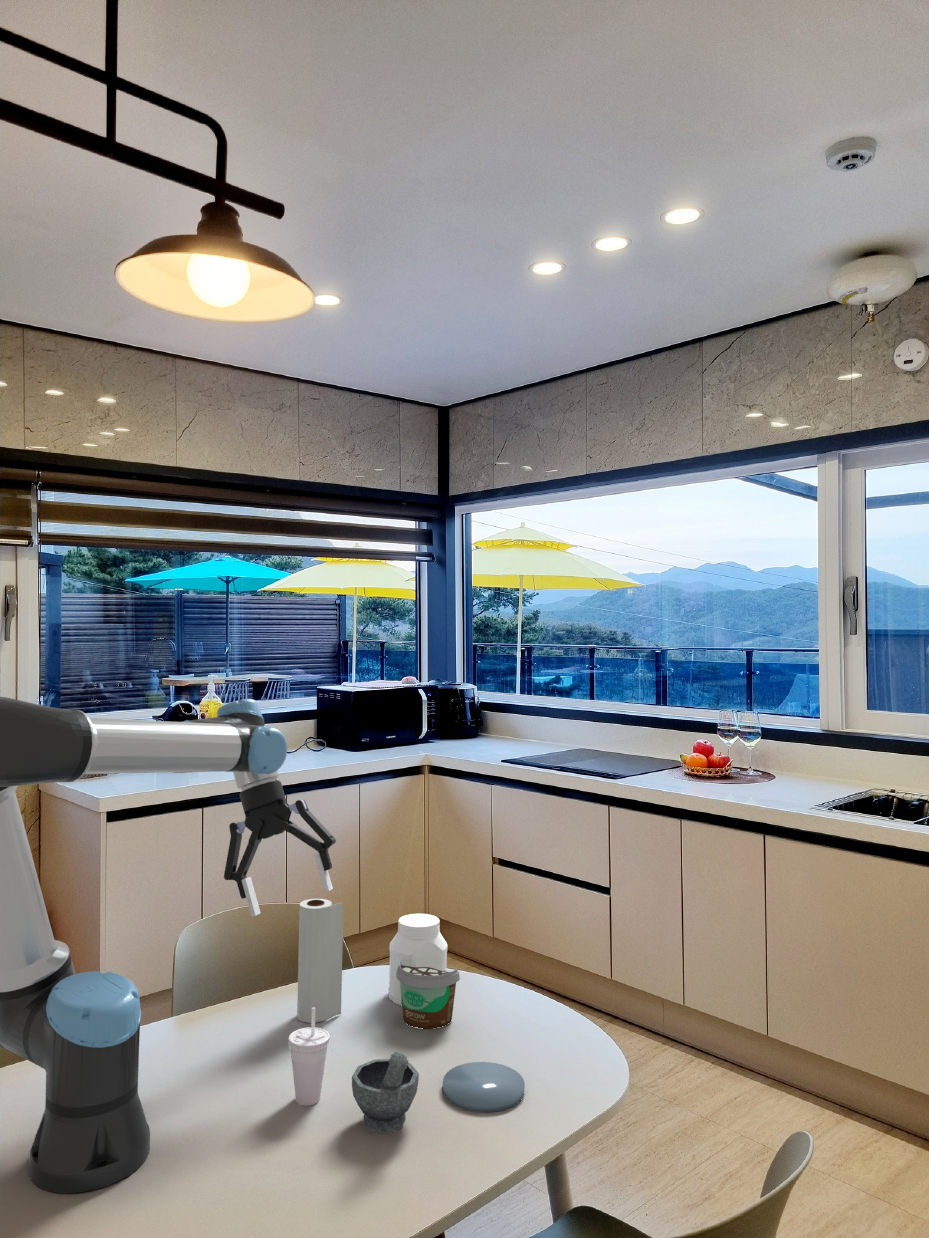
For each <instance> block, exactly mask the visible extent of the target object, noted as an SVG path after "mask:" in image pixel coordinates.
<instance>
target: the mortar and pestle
mask: <svg viewBox="0 0 929 1238" xmlns="http://www.w3.org/2000/svg"><path fill="white" fill-rule="evenodd" d="M419 1078H420V1077H419V1072H418V1070H417V1069H416V1068H415V1067H414V1065H412V1063H410V1062H409V1059H408V1057H407V1055H406V1054H405V1053H403V1052H399V1051H396V1052H393V1054H391V1055H390V1057H389V1058H383V1059H382V1058H379V1059H372V1060H369V1061H367V1062H365V1063H363V1064H360V1065H358V1066H357V1067H356V1069H355V1070H354V1072H353V1074H352V1076H351V1089H352V1095H353V1096H352V1097H353V1098H354V1100H355V1102H356V1104H357V1106H358V1107H359V1108H360V1110H361V1112H362V1113H363V1114H364V1115H363V1121H362V1123H363V1125H364V1126H365V1128H366V1129H367V1130H368V1131H371V1132H375V1133H377V1134H389V1133H390V1134H391V1133H394V1132H395V1131H398V1130H400V1129H401V1128H403V1127H404V1125H405V1122H406V1113H407V1112H408V1111H409V1110H410V1107H411V1105H412V1103H413V1101H414V1099H415V1098H416V1095H417V1092H418V1087H419Z"/></svg>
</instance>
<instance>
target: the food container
mask: <svg viewBox="0 0 929 1238" xmlns="http://www.w3.org/2000/svg"><path fill="white" fill-rule="evenodd" d="M396 977H397V979H398V980H399V981H400V988H401V1001H402V1006H401V1011H402V1021H403V1020H404V1021H403V1022H404V1024H405V1023H407V1024H408V1025H407V1024H406V1025H407V1026H409V1025H410V1026H413V1027H418V1028H423V1029H422V1030H426V1029H427V1030H434V1029H433V1028H437V1027H441V1028H443V1027H442V1026H444V1027H446V1026H448V1025H449V1024H451V1022H452V1021H451V1020H453V1012H454V1003H455V996H456V987H457V983H458V982H459V981H460V980H461V977H460V972H459V969H458V967H456V968H455V969H454V970H453V971H447V970H446V971H441V970H437V969H434V968H431V967H410V966H403V965H402V961H400V963H399V965H398V968H397V973H396ZM448 1023H449V1024H448ZM447 1024H448V1025H447ZM445 1025H446V1026H445ZM410 1026H409V1027H410ZM413 1027H412V1028H413ZM437 1029H438V1028H437Z"/></svg>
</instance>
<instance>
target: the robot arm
mask: <svg viewBox="0 0 929 1238" xmlns="http://www.w3.org/2000/svg"><path fill="white" fill-rule="evenodd" d="M216 714H217V716H214V717H208V718H200V719H199V718H198V719H193V720H192V719H191V720H188V719H186V720H184V721H166V720H165V721H162V720H143V719H125V718H124V719H122V718H121V719H120V718H98V717H88V715H87V714H86V713H85V712H84V711H82V710H79V709H69V708H67V709H66V708H58V707H52V706H46V705H41V704H36V703H32V702H28V701H24V700H20V699H16V698H11V697H7V696H6V697H5V696H0V1048H2V1049H4V1050H6V1051H10V1052H12V1053H14V1054H15V1055H17V1056H19V1057H21V1058H23V1059H25V1060H27V1061H28V1062H30V1063H32V1064H34V1065H36V1066H38V1067H40V1068H42V1069H43V1070H45V1103H44V1111H43V1114H42V1116H41V1117H42V1118H41V1120H40V1123H39V1126H38V1128H37V1131H36V1134H35V1137H34V1140H33V1142H32V1145H31V1148H30V1151H29V1157H28V1158H29V1159H28V1161H29V1163H28V1175H29V1178H30V1180H31V1181H32V1183H33V1184H34V1185H36V1186H37V1187H38V1188H41V1189H42V1190H45V1191H48V1192H52V1193H53V1192H54V1193H59V1194H60V1193H62V1194H73V1193H76V1194H77V1193H82V1192H83V1193H85V1192H90V1191H94V1190H98V1189H102V1188H106V1187H107V1186H111V1185H112V1184H114V1183H117V1182H119V1181H121V1180H123V1179H124V1178H127V1177H128V1176H130V1175H131V1174H133V1173H134V1172H135V1171H137V1169H139V1168H140V1166H142V1165H143V1163H145V1161H146V1160H147V1158H148V1156H149V1154H150V1151H151V1149H150V1148H151V1129H150V1126H149V1123H148V1122H147V1118H146V1114H145V1111H144V1109H143V1105H142V1102H141V1099H140V1096H139V1064H140V1063H139V1061H140V1056H139V1055H140V1034H141V1033H140V1031H141V1020H142V1010H141V1009H142V1008H141V1000H140V992H139V990H138V987H137V986H136V984H135V983H134V981H132V980H131V979H129V978H128V977H127V976H124V975H122V974H119V973H115V972H111V971H107V972H103V973H102V971H99V970H97V971H95V970H94V971H84V972H79V973H76V971H75V966H74V964H73V959H72V955H71V952H70V948H69V946H68V945H67V944H66V943H65V942H63V941H60V940H56V939H55V937H54V933H53V930H52V927H51V923H50V922H51V921H50V919H49V914H48V911H47V908H46V904H45V900H44V899H45V898H44V896H43V893H42V892H43V891H42V887H41V885H40V881H39V878H38V873H37V870H36V866H35V862H34V858H33V853H32V850H31V846H30V843H29V839H28V835H27V832H26V828H25V827H26V826H25V824H24V820H23V816H22V813H21V809H20V804H19V802H18V798H17V794H16V790H17V788H18V787H19V786H29V785H39V784H54V783H55V784H56V783H73V782H77V781H78V780H80V779H81V778H83V776H84V775H101V774H102V775H104V774H155V773H156V774H158V773H160V774H161V773H164V774H165V773H168V774H169V773H212V772H213V773H215V772H216V773H217V772H221V773H222V772H225V773H229V772H230V773H233V777H234V779H235V780H234V781H235V785H236V789H237V790H241V791H240V793H239V799H240V802H241V806H242V809H243V813H244V816H245V818H244V820H243V821H235V822H234V821H233V822H231V823H230V824H229V833H230V839H229V845H228V850H227V857H226V862H225V867H224V875H223V878H224V880H225V881H235V882H236V884H237V888H238V891H239V896H240V898H241V899H242V900H243V899H246V902H247V905H248V909H249V913H250V917H251V918H252V917H256V916H258V915H260V914H261V910H260V906H259V902H258V898H257V895H256V891H255V887H254V883H253V880H252V877H251V876H248V877H247V874H248V872H249V869H250V867H251V865H252V862H253V860H254V857H255V855H256V852H257V850H258V848H259V845H260V844H261V842H262V840H265V839H268V838H271V837H274V836H277V835H280V834H283V833H284V832H286V833H289V834H290V835H293V836H294V837H295V838H297V839H299V840H300V841H301V842H302V843H304V844H306V845H308V846H309V847H311V849H313V850H315V851H316V852H317V854H315V855H314V857H315V858H314V859H315V862H316V865H317V870H318V871H319V872H318V873H319V876H320V880H321V882H322V886H323V888H324V889H323V890H324V893H327V892H329V891H331V890H333V889H334V887H333V884H332V880H331V877H330V874H329V870H331V869H333V864H332V861H331V858H330V854H329V849H330V848H331V847H332V846H333V845H335V844H336V843H337V839H336V837H334V836H333V834H332V833H331V832H330V831H329V830H328V829H327V828H326V827H325V826H324V824H322V823H321V822H320V820H319V819H318V818H317V817H316V816H315V815H314V814H313V813H312V812H311V810H310V809H309V807H308V804H307V802H306V800H305V799H299V800H296V801H295V802H293V803H291V804H290V805H289V803H288V802H287V799H286V795H285V792H284V788H283V785H282V781H280V780H277V779H278V778H279V776H280V775H279V770H280V768H282V766H283V764H284V763H285V760H286V759H287V756H288V755H287V754H288V753H287V752H288V743H287V739H286V737H285V735H284V734H283V732H282V731H281V730H279V729H277V728H274V727H271V726H270V727H269V726H267V725H266V724H265V718H264V717H263V714H262V711H261V709H260V706H259V704H258V702H257V700H256V699H252V698H242V699H239V700H234V701H231V702H228V703H225V704H223V705H222V706H220V707H219V708H218V709H217V711H216ZM293 812H294V813H295V814H297V815H299V816H300V817H301V818H302V819H303V820H304V822H305V823H306V824H307V825H308V826H309V827H310V828H311V829H312V830H313V831H314V832H315V833H316V834H317V836H318V837H320V839H321V840H322V841H321V840H319V838H316V837H315V836H314V835H312V834H311V833H309V832H308V831H306V830H305V829H303V828H301V827H300V826H298V824H297V823H295V822H294V821H292V820H290V818H291V815H292V813H293ZM246 828H247V829H248V830H249V831H250V832H251V833H250V836H249V838H248V841H247V846H246V848H245V849H244V853H243V854H242V857H241V859H240V862H239V863H238V861H239V857H240V856H239V855H240V852H241V851H240V850H241V846H242V845H241V844H242V839H243V833H244V832H245V829H246ZM238 864H239V865H238Z"/></svg>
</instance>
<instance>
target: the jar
mask: <svg viewBox="0 0 929 1238" xmlns="http://www.w3.org/2000/svg"><path fill="white" fill-rule="evenodd" d="M397 922H398V923H397V925H398V926H397V932H396V934H395V935H394V937H393V938H392V939H391V941H390V942H389V946H388V947H389V972H388V973H389V976H388V977H389V982H388V994H387V995H388V998H389V1000H390V1001H391V1000H392V1001H393V1002H392V1001H391V1002H392V1003H393V1004H395V1003H396V1004H395V1005H397V1004H399V1005H398V1006H400V1005H402V1001H401V988H400V981H399V980H398V979H397V977H396V973H397V968H398V965H399V963H400V961H402V965H403V966H410V967H431V968H434V969H437V970H441V971H446V972H447V966H448V965H447V962H448V961H447V960H448V959H447V958H448V957H447V955H448V953H447V952H448V943H447V940H445V937H444V936H443V935H442V933H441V931H440V922H441V921H440V918H439V917H437V916H436V915H432V914H430V913H429V914H428V913H410V914H406V915H402V916H401V917H399V919H398V921H397Z"/></svg>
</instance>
